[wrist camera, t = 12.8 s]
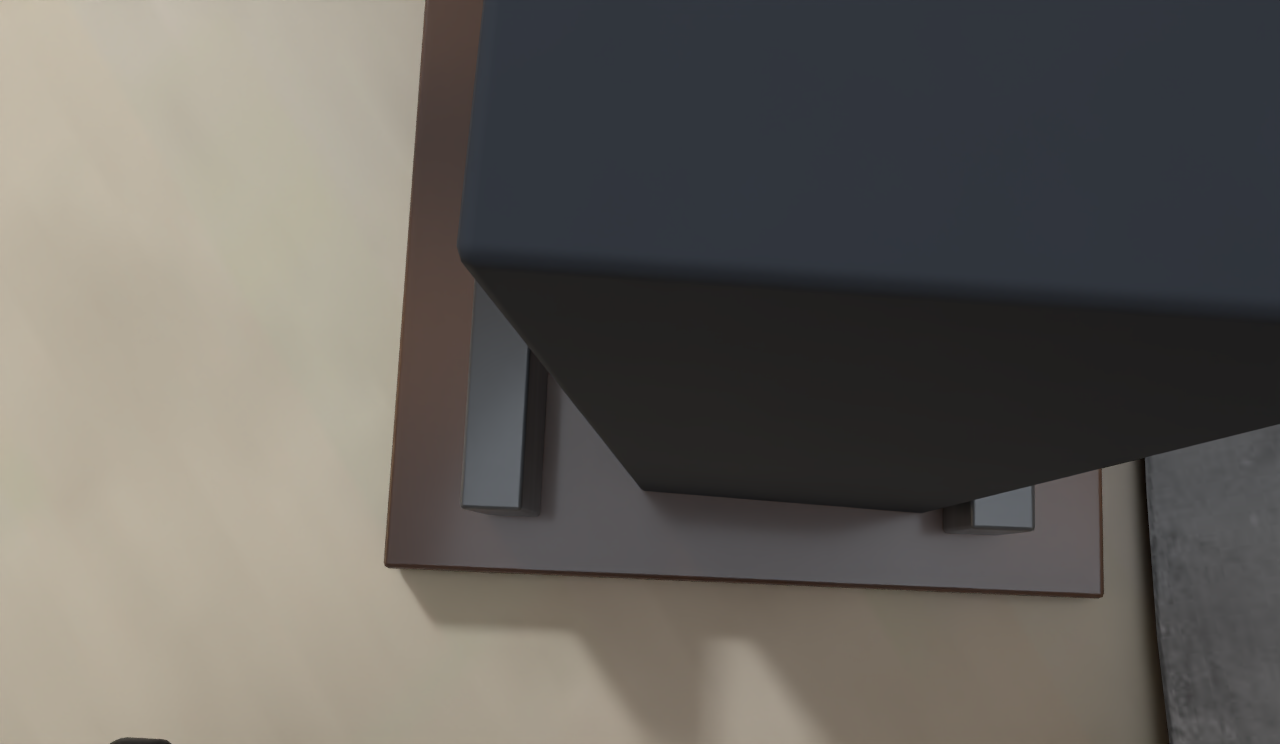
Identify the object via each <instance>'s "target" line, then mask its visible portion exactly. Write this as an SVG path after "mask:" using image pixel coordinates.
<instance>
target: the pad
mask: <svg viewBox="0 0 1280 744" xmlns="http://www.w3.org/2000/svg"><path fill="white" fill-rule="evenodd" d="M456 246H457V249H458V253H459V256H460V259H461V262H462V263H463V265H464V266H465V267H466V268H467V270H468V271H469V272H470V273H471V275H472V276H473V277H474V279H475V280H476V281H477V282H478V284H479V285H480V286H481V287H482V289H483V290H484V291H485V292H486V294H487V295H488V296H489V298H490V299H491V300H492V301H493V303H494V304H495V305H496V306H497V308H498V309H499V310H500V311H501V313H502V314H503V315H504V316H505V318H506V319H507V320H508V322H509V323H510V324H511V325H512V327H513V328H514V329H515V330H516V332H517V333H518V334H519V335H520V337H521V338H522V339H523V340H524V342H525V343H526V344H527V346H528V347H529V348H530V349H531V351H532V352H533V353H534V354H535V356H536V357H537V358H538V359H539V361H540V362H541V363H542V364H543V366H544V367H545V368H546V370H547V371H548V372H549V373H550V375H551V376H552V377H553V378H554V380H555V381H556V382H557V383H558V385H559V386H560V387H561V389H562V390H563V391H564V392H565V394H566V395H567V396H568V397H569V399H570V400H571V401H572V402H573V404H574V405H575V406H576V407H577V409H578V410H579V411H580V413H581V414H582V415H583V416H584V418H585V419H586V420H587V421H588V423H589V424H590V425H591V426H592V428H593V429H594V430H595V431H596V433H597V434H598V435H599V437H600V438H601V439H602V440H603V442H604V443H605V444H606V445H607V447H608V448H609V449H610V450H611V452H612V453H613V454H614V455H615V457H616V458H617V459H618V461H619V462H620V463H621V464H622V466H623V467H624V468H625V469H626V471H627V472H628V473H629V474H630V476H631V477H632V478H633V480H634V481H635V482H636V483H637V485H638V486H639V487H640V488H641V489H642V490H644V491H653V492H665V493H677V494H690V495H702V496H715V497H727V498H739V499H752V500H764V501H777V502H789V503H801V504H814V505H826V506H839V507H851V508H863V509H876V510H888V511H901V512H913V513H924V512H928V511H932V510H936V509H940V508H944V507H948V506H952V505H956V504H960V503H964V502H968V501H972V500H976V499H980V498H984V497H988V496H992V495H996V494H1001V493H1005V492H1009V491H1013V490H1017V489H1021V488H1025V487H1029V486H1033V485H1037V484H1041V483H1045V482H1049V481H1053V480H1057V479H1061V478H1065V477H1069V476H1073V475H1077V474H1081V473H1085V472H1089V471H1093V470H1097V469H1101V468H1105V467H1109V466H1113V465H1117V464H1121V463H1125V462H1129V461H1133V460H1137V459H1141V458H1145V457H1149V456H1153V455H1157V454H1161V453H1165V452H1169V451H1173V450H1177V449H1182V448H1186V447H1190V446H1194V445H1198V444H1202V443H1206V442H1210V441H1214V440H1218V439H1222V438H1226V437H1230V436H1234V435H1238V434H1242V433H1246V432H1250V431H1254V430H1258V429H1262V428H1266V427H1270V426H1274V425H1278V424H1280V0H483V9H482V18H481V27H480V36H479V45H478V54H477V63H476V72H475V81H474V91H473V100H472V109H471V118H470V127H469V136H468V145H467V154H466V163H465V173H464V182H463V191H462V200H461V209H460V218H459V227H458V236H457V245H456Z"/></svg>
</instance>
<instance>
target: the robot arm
mask: <svg viewBox="0 0 1280 744" xmlns="http://www.w3.org/2000/svg"><path fill="white" fill-rule="evenodd" d="M110 744H171V743H170V742H169V741H167V740H163V739H147V738H128V737H127V738H121V739H118V740H115V741H113V742H112V743H110Z"/></svg>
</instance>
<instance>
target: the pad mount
mask: <svg viewBox="0 0 1280 744" xmlns="http://www.w3.org/2000/svg"><path fill="white" fill-rule="evenodd" d="M482 9H483V0H425V12H424V26H423V39H422V53H421V66H420V80H419V94H418V107H417V121H416V134H415V148H414V161H413V175H412V188H411V202H410V215H409V229H408V243H407V256H406V270H405V283H404V297H403V310H402V324H401V337H400V351H399V364H398V378H397V392H396V405H395V419H394V432H393V446H392V459H391V473H390V486H389V500H388V513H387V527H386V541H385V554H384V564H385V566H386V567H388V568H399V569H423V570H446V571H469V572H492V573H516V574H539V575H562V576H586V577H609V578H632V579H655V580H679V581H702V582H725V583H749V584H772V585H795V586H818V587H842V588H865V589H888V590H912V591H935V592H958V593H982V594H1005V595H1028V596H1051V597H1075V598H1101V597H1103V594H1104V572H1103V515H1102V468H1101V469H1097V470H1093V471H1089V472H1085V473H1081V474H1077V475H1073V476H1069V477H1065V478H1061V479H1057V480H1053V481H1049V482H1045V483H1041V484H1037V485H1033V486H1029V487H1025V488H1021V489H1017V490H1013V491H1009V492H1005V493H1001V494H996V495H992V496H988V497H984V498H980V499H976V500H972V501H968V502H964V503H960V504H956V505H952V506H948V507H944V508H940V509H936V510H932V511H928V512H924V513H913V512H901V511H888V510H876V509H863V508H851V507H839V506H826V505H814V504H801V503H789V502H777V501H764V500H752V499H739V498H727V497H715V496H702V495H690V494H677V493H665V492H653V491H644V490H642V489H641V488H640V487H639V486H638V485H637V483H636V482H635V481H634V480H633V478H632V477H631V476H630V474H629V473H628V472H627V471H626V469H625V468H624V467H623V466H622V464H621V463H620V462H619V461H618V459H617V458H616V457H615V455H614V454H613V453H612V452H611V450H610V449H609V448H608V447H607V445H606V444H605V443H604V442H603V440H602V439H601V438H600V437H599V435H598V434H597V433H596V431H595V430H594V429H593V428H592V426H591V425H590V424H589V423H588V421H587V420H586V419H585V418H584V416H583V415H582V414H581V413H580V411H579V410H578V409H577V407H576V406H575V405H574V404H573V402H572V401H571V400H570V399H569V397H568V396H567V395H566V394H565V392H564V391H563V390H562V389H561V387H560V386H559V385H558V383H557V382H556V381H555V380H554V378H553V377H552V376H551V375H550V373H549V372H548V371H547V370H546V368H545V367H544V366H543V364H542V363H541V362H540V361H539V359H538V358H537V357H536V356H535V354H534V353H533V352H532V351H531V349H530V348H529V347H528V346H527V344H526V343H525V342H524V340H523V339H522V338H521V337H520V335H519V334H518V333H517V332H516V330H515V329H514V328H513V327H512V325H511V324H510V323H509V322H508V320H507V319H506V318H505V316H504V315H503V314H502V313H501V311H500V310H499V309H498V308H497V306H496V305H495V304H494V303H493V301H492V300H491V299H490V298H489V296H488V295H487V294H486V292H485V291H484V290H483V289H482V287H481V286H480V285H479V284H478V282H477V281H476V280H475V279H474V277H473V276H472V275H471V273H470V272H469V271H468V270H467V268H466V267H465V266H464V265H463V263H462V262H461V259H460V256H459V253H458V249H457V246H456V245H457V236H458V227H459V218H460V209H461V200H462V191H463V182H464V173H465V163H466V154H467V145H468V136H469V127H470V118H471V109H472V100H473V91H474V81H475V72H476V63H477V54H478V45H479V36H480V27H481V18H482Z"/></svg>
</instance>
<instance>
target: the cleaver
mask: <svg viewBox="0 0 1280 744" xmlns="http://www.w3.org/2000/svg"><path fill="white" fill-rule="evenodd" d="M1145 469H1146V491H1147V504H1148V518H1149V532H1150V546H1151V559H1152V573H1153V587H1154V601H1155V614H1156V628H1157V641H1158V649H1159V658H1160V666H1161V675H1162V683H1163V692H1164V700H1165V709H1166V717H1167V725H1168V734H1169V742H1170V744H1280V424H1278V425H1274V426H1270V427H1266V428H1262V429H1258V430H1254V431H1250V432H1246V433H1242V434H1238V435H1234V436H1230V437H1226V438H1222V439H1218V440H1214V441H1210V442H1206V443H1202V444H1198V445H1194V446H1190V447H1186V448H1182V449H1177V450H1173V451H1169V452H1165V453H1161V454H1157V455H1153V456H1149V457H1145Z"/></svg>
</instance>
